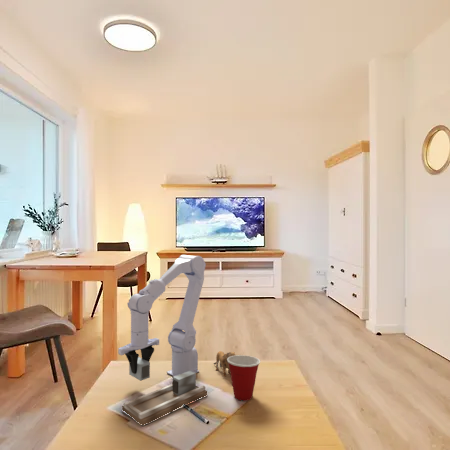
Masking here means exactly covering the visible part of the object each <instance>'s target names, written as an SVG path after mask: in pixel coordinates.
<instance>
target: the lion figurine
mask: <svg viewBox="0 0 450 450" xmlns="http://www.w3.org/2000/svg"><path fill="white" fill-rule="evenodd" d="M236 355H237V354H235V352H234V351H229V352H226V353H224V351H221V350H220V351H218V352H217V353H216V357H215V359H216V362H214V363H213V365H214V366H215V365H216V366H215V371H219V370H220V369H219V367H222V373H223V374H222V377H224V378H225V377H227V375H229V376H231V373H230V368H229V363H228V361H227V358H228V357H231V356H236ZM226 369H227V373H226Z"/></svg>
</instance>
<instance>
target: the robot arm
mask: <svg viewBox="0 0 450 450" xmlns="http://www.w3.org/2000/svg"><path fill="white" fill-rule="evenodd" d="M206 266H207V264H206V262H205V260H204V258H203V257H202V256H200V255H187V254H181V255H179V257H178V258H176V259H175V261H174V263H173V264H172V265H171V266H170V267H169V268H168V269H167V270H166V271H165V272H164V273H163V274H162V276H160V277H159V278H155V279H150V280H149V281H148V284H147V285H146V286H145V287H143V288H142V289H140V290H139V291H138V293H134V294H132V295H131V297H130V298H129V300H128V302H127V307H128V309H129V310H130V343H128V344H125V345H124V346H121V347H118V348H117V349H118V352H117V353H118V355H120V356H124V355H125V356H126V359H127V361H128V364H130V367H131V372H132V373H134V374H136V373H137V361H138V357H140V355H141V358H142V359H144V360H146V361H148V362H150V360H151V359H152V355H153V354H154V352H155V347H154V346H159V345H160V338H157V337H154V338H149V315H150V314H149V313H150V312H149V311H151V309H152V308H153V304H154V303H155V301H156V300H157V299H158V298H159V297H160V296H162V294H163V293H165V292H166V287H167V285H169V284H170V283H171V282H172V281H174V280H175V279H176V278H177V277H179V276H180V275H181V274H184V275H185V276H186V278H187V280H188V285H187V287H186V288H187V289H186V291H185V295H184V299H183V303H182V307H181V309H180V310H181V311H180V314H179V318H178V321H177V322H175V323H174V324H173V325H172V328H171V330H170V332H169V334H168V336H167V342H168V344H169V345H170V349H171V369H170V370H168V371H166V374H168V375H170V376H172V377H174V376H177V375H180V374H182V373H185V372H187V371H192V372H194V373H196V374H197V373H199V372H200V370H199V367H198V363H199V360H198V359H199V357H198V351H197V348H196V347H195V346H196V342H197V340H196V336H197V330H196V328H195V326H194V322H195V321H194V320H195V316H196V313H197V308H198V305H199V301H200V297H201V292H202V289H203V285H204V281H205V270H206ZM139 350H140V355H139V353H138V352H137V351H139Z"/></svg>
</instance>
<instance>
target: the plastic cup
mask: <svg viewBox="0 0 450 450" xmlns="http://www.w3.org/2000/svg"><path fill="white" fill-rule="evenodd" d="M235 355H236V356H231V357H228V358H227V361H228V363H229V368H230V373H231V375H230V379H231V385H232V391H233V392H232V393H233V396H234V399H235V400H237V399H238V401H241V400H243V401H244V402H245V401H250V400H252V398H253V395H254V390H255V385H256V380H257V373H258V368H259V366H260V363H261V360H260V358H258V357H256V356H252V355H243V354H242V355H241V354H240V355H239V354H238V355H237V354H235ZM243 401H242V402H243Z"/></svg>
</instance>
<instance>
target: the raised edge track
mask: <svg viewBox="0 0 450 450" xmlns="http://www.w3.org/2000/svg"><path fill="white" fill-rule="evenodd" d="M196 375H197V373H194V372H192V371H187V372H185V373H182V374H180V375H177V376H172V383H171V384H169V385H166V386H164V387H161V388H159V389H156V390H154V391H151V392H148V393H147V394H144V395H141V396H138V397H136V398H134V399H131V400H128V401H126V402H124V403H123V405H122V406H121V411H122V410H123V411H125V412H126V413H127V414H129V415H130V416H131V417H133V418H134V419H135V420H136V421H137V422H139V423H140V424H142V425H144V424H146V423H149V422H151V421H153V420H155V419H157V418H159V417H161V416H163V415H165V414H167V413H169V412H172V411H173V410H175V409H177V408H179V407H181V406H182V405H183V404H188V403H190V402H192V401H195V400H197V399H199V398H201V397H204V396H206V395H207V396H208V390H206V386H205V385H201V386H198V385H196V384H197V383H196V382H197V381H196V379H197V376H196ZM207 396H206V397H207ZM204 398H205V397H204ZM197 401H198V400H197ZM195 402H196V401H195ZM172 413H173V412H172ZM159 419H160V418H159ZM157 420H158V419H157ZM136 421H135V422H136ZM155 421H156V420H155ZM137 422H136V423H137ZM153 422H154V421H153ZM139 423H138V424H139ZM151 423H152V422H151ZM140 424H139V425H140ZM149 424H150V423H149Z"/></svg>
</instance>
